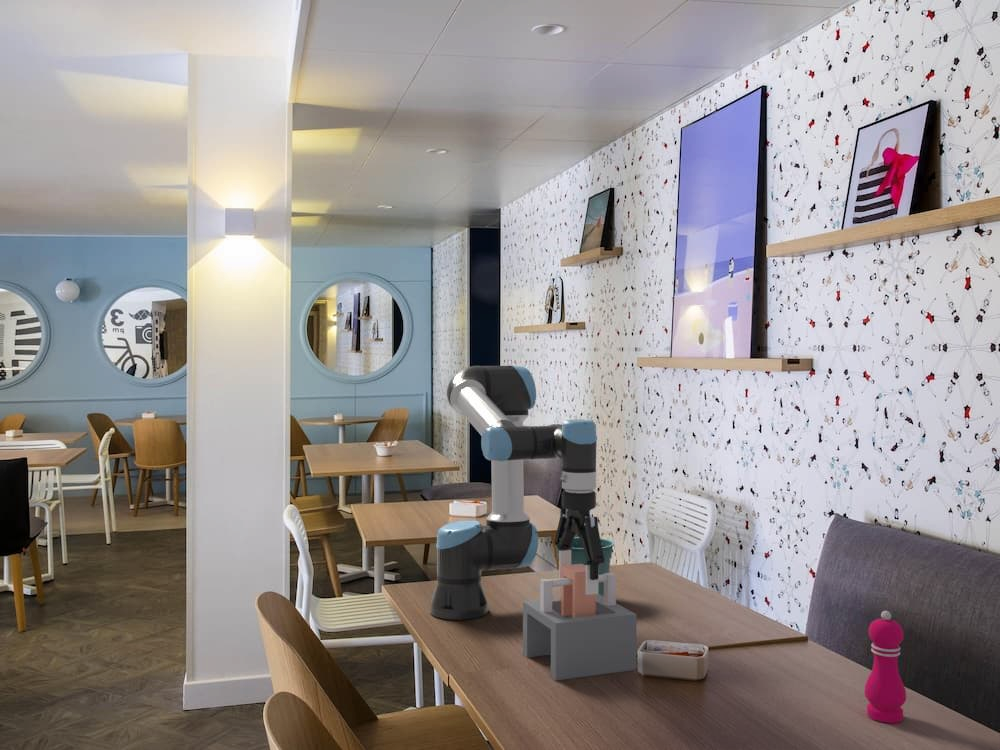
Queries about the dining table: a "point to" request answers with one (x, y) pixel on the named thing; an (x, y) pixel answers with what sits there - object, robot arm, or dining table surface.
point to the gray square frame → (580, 633)
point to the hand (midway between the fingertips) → (578, 586)
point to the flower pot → (580, 558)
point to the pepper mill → (885, 672)
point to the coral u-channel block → (576, 593)
